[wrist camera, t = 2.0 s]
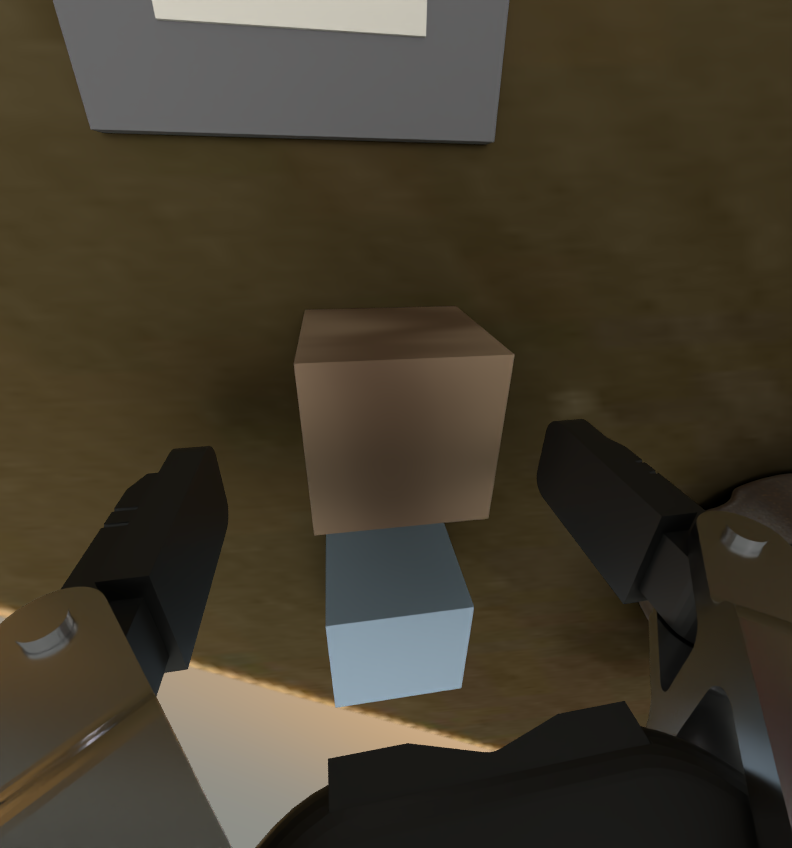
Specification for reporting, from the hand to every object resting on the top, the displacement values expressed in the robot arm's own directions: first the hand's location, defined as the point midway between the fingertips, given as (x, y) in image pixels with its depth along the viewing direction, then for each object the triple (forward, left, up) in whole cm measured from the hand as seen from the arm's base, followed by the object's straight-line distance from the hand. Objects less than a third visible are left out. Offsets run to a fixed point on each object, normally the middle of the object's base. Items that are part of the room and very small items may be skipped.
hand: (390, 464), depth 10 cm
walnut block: (0, 0, -5) cm, 5 cm away
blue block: (0, +9, -5) cm, 11 cm away
